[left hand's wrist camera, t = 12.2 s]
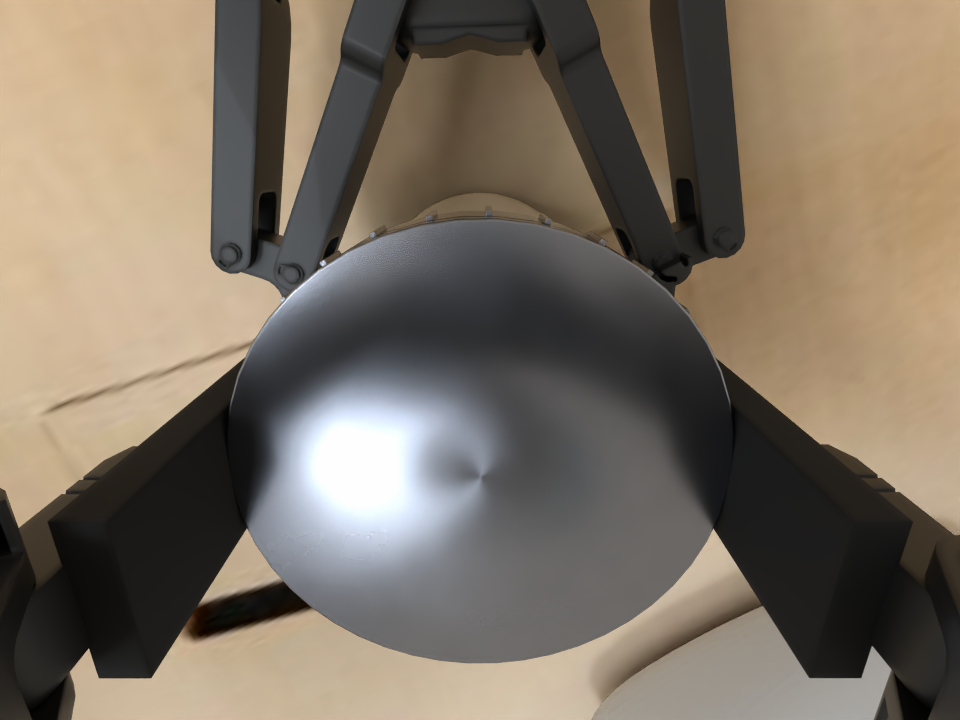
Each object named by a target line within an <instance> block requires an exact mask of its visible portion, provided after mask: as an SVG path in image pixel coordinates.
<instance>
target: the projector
mask: <svg viewBox="0 0 960 720" xmlns="http://www.w3.org/2000/svg"><path fill="white" fill-rule="evenodd" d="M890 672H891V668H890V667H889V666H888V665H887V663H886V662H885V661H884V660H883V659H882V657H881V656H880V655H879V654H878V652H877V651H876V650H875V649H874V647H873V646H872V648H871V651H870V654H869V657H868V660H867V663H866V666H865V669H864V672H863V675H862V678H809V677H808V676H807V674H806V672H805V671H804V669H803V668H802V666H801V665H800V663H799V661H798V660H797V658H796V657H795V655H794V654H793V652H792V650H791V649H790V647H789V646H788V644H787V643H786V641H785V640H784V638H783V636H782V635H781V633H780V632H779V630H778V629H777V627H776V625H775V624H774V622H773V621H772V619H771V618H770V616H769V614H768V613H767V611H766V610H765V608H764V607H763V606H761V607H759V608H757V609H754V610H752V611H750V612H748V613H746V614H744V615H742V616H739V617H737V618H735V619H733V620H731V621H729V622H727V623H725V624H722V625H721V626H719V627H717V628H715V629H713V630H711V631H709V632H707V633H705V634H703V635H701V636H699V637H697V638H695V639H693V640H692V641H690V642H688V643H686V644H684V645H683V646H681V647H679V648H677V649H675V650H674V651H672V652H670V653H668V654H667V655H665V656H663V657H662V658H660V659H658V660H657V661H655V662H653V663H652V664H650V665H648V666H647V667H645V668H644V669H642V670H641V671H639V672H638V673H636V674H635V675H633V676H632V677H630V678H629V679H628V680H627V681H625V682H624V683H623V684H621V685H620V686H619V687H618V688H616V689H615V690H614V691H613V692H612V693H611V694H610V695H609V696H608V697H607V698H606V699H605V700H604V701H603V703H602V704H601V705H600V706H599V708H598V709H597V711H596V712H595V714H594V716H593V718H592V720H874V717H875V714H876V712H877V709H878V706H879V703H880V700H881V697H882V695H883V692H884V689H885V686H886V683H887V681H888V678H889V675H890Z"/></svg>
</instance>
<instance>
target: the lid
mask: <svg viewBox="0 0 960 720" xmlns="http://www.w3.org/2000/svg"><path fill="white" fill-rule="evenodd" d="M369 235H370V237H368V238H366V239H365V240H363V241H361V242H360V243H358V244H357V245H355V246H353V247H352V248H350V249H349V250H347V251H345V252H344V253H342V254H341V252H340V251H337V252H335V253H334V254H332V255H330V256H329V257H327V258H326V259H324V260H322V261H321V262H320V264H321V266H322V267H321V268H319V269H318V270H317V271H315V272H314V273H313V274H312V275H311V276H310V277H308V278H307V279H306V280H305V281H304V282H302V283H301V284H300V285H299V286H298V287H296V288H295V289H294V290H292V291H291V292H289V293H288V294H286V295H285V296H283V297H282V298H281V300H280V301H281V302H282V303H281V304H280V305H279V306H278V308H277V309H276V310H275V311H274V312H273V313H272V314H271V316H270V317H269V318H268V319H267V321H266V322H265V324H264V326H263V327H262V329H261V330H260V332H259V333H258V335H257V337H256V338H255V339H254V340H253V342H252V344H251V346H250V348H249V351H248V353H247V355H246V357H245V360H244V362H243V364H242V366H241V369H240V371H239V373H238V376H237V380H236V384H235V387H234V391H233V395H232V398H231V402H230V408H229V417H228V426H227V455H228V463H229V469H230V474H231V479H232V485H233V490H234V495H235V499H236V501H237V504H238V507H239V510H240V513H241V516H242V519H243V521H244V523H245V525H246V527H247V529H248V531H249V533H250V535H251V536H252V538H253V540H254V542H255V544H256V546H257V547H258V549H259V550H260V552H261V553H262V554H263V556H264V557H265V559H266V560H267V562H268V563H269V565H270V566H271V568H272V569H273V570H274V571H275V572H276V573H277V574H278V575H279V576H280V578H281V579H282V580H283V581H284V582H285V583H286V584H287V585H288V587H289V588H290V589H291V590H293V591H294V592H295V593H296V594H297V595H298V596H299V597H300V598H302V599H303V600H304V601H305V602H306V603H307V604H308V605H310V606H311V607H312V608H313V609H315V610H316V611H318V612H319V613H321V614H322V615H323V616H325V617H326V618H328V619H329V620H331V621H332V622H334V623H335V624H337V625H339V626H341V627H343V628H344V629H346V630H348V631H350V632H352V633H354V634H355V635H357V636H359V637H362V638H364V639H366V640H369V641H371V642H374V643H376V644H378V645H381V646H383V647H386V648H389V649H393V650H396V651H399V652H403V653H406V654H409V655H413V656H418V657H423V658H429V659H434V660H439V661H449V662H460V663H502V662H511V661H521V660H527V659H532V658H537V657H542V656H547V655H552V654H555V653H558V652H561V651H565V650H568V649H571V648H574V647H577V646H580V645H582V644H585V643H587V642H589V641H592V640H594V639H596V638H599V637H601V636H603V635H606V634H607V633H609V632H611V631H613V630H614V629H616V628H618V627H620V626H622V625H623V624H625V623H627V622H629V621H630V620H632V619H633V618H634V617H636V616H637V615H639V614H640V613H641V612H643V611H644V610H646V609H647V608H648V607H650V606H651V605H652V604H654V603H655V602H656V601H657V600H658V599H659V598H660V597H661V596H662V595H663V594H665V593H666V592H667V591H668V590H669V589H670V588H671V587H672V586H673V585H674V584H675V583H676V582H677V581H678V579H679V578H680V577H681V576H682V575H683V574H684V573H685V571H686V570H687V569H688V568H689V567H690V566H691V564H692V563H693V561H694V560H695V558H696V557H697V555H698V554H699V552H700V551H701V549H702V548H703V546H704V545H705V543H706V542H707V540H708V538H709V536H710V534H711V532H712V530H713V528H714V526H715V524H716V522H717V520H718V518H719V515H720V512H721V509H722V506H723V503H724V500H725V497H726V492H727V487H728V482H729V476H730V471H731V465H732V460H733V446H734V428H733V420H732V412H731V405H730V399H729V395H728V392H727V388H726V385H725V382H724V378H723V375H722V371H721V369H720V367H719V365H718V362H717V360H716V358H715V356H714V354H713V352H712V350H711V347H710V345H709V343H708V341H707V340H706V338H705V337H704V335H703V334H702V332H701V331H700V329H699V328H698V326H697V325H696V323H695V322H694V320H693V319H692V317H691V316H690V312H689V310H688V309H687V308H686V307H684V306H683V305H681V304H680V303H679V302H678V301H677V300H676V299H675V298H674V297H673V296H672V295H671V294H670V292H669V291H668V290H667V289H666V288H665V287H663V286H662V285H661V284H660V283H658V282H657V281H656V280H655V279H653V278H652V277H651V276H652V275H653V274H654V273H653V272H652V271H651V270H650V269H648V268H647V267H645V266H643V265H642V264H640V263H639V262H637V261H635V260H633V261H632V262H631V261H630V260H628V259H626V258H625V257H623V256H622V255H620V254H619V253H617V252H616V251H614V250H612V249H611V248H609V247H607V246H606V245H605V244H606V243H607V241H606V240H604V239H603V238H601V237H599V236H598V235H596V234H594V233H592V232H589V234H588V235H586V234H584V233H581V232H579V231H576V230H574V229H572V228H569V227H567V226H565V225H562V224H560V223H556V222H552V220H551V219H550V218H549V217H548V216H546V215H545V214H542V213H540V214H539V218H537V217H534V216H530V215H524V214H516V213H508V212H500V211H492V208H491V206H485V211H459V212H452V213H445V214H438V215H437V210H432V211H431V212H429V213H428V214H427V215H426V217H423V218H419V219H416V220H412V221H409V222H405V223H402V224H398V225H395V226H393V227H391V228H389V229H386V227H385V225H383V226H381V227H379V228H377V229H376V230H374V231H373V232H371V233H370V234H369Z"/></svg>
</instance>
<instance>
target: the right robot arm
mask: <svg viewBox="0 0 960 720" xmlns="http://www.w3.org/2000/svg"><path fill="white" fill-rule="evenodd" d="M650 19H651V31H652V39H653V46H654V54H655V62H656V70H657V77H658V85H659V93H660V101H661V108H662V116H663V124H664V132H665V139H666V147H667V155H668V162H669V170H670V178H671V186H672V193H673V201H674V209H675V217H676V222H674V223H672V224H671V223H670V221H669V218H668V216H667V213H666V211H665V209H664V206H663V204H662V201H661V199H660V196H659V194H658V191H657V189H656V186H655V184H654V181H653V179H652V176H651V174H650V171H649V169H648V166H647V164H646V162H645V159H644V157H643V154H642V152H641V149H640V147H639V144H638V142H637V139H636V137H635V134H634V132H633V129H632V127H631V124H630V122H629V119H628V117H627V115H626V112H625V110H624V107H623V105H622V102H621V100H620V97H619V95H618V92H617V90H616V87H615V85H614V82H613V80H612V77H611V75H610V72H609V70H608V67H607V65H606V63H605V60H604V58H603V55H602V52H601V47H600V37H599V33H598V30H597V27H596V24H595V21H594V19H593V16H592V14H591V11H590V9H589V6H588V4H587V1H586V0H354V3H353V6H352V10H351V13H350V16H349V19H348V22H347V25H346V28H345V31H344V35H343V38H342V43H341V59H340V64H339V67H338V70H337V74H336V77H335V80H334V83H333V86H332V89H331V92H330V95H329V98H328V101H327V104H326V107H325V110H324V113H323V116H322V120H321V123H320V126H319V129H318V132H317V135H316V138H315V141H314V144H313V147H312V150H311V153H310V156H309V159H308V162H307V166H306V169H305V172H304V175H303V178H302V181H301V184H300V187H299V190H298V193H297V196H296V199H295V202H294V205H293V208H292V212H291V215H290V218H289V221H288V224H287V227H286V230H285V233H284V236H281V235H279V225H280V208H281V192H282V176H283V160H284V144H285V128H286V112H287V96H288V80H289V64H290V48H291V17H290V6H289V1H288V0H216V3H215V53H214V104H213V154H212V205H211V256H212V259H213V261H214V263H215V264H216V266H218V267H219V268H220V269H221V270H222V271H225V272H227V273H230V274H231V273H240V272H243V273H246V274H249V275H252V276H256V277H259V278H262V279H265V280H267V281H269V282H271V283H272V284H273V285H275V286H276V288H277V289H278V290H279V291H280V293H281V295H282V297H283V296H285V295H286V294H288V293H289V292H291V291H292V290H294V289H295V288H296V287H298V286H299V285H300V284H301V283H302V282H304V281H305V280H306V279H307V278H308V277H310V276H311V275H312V274H313V273H314V272H315V271H317V270H318V269H319V268H321V267H322V266H321V264H320V262H321V261H322V260H324V259H326V258H327V257H329V256H330V255H332V254H334V253H335V252H337V250H338V248H339V245H340V242H341V239H342V237H343V234H344V231H345V228H346V226H347V223H348V220H349V217H350V215H351V212H352V209H353V206H354V204H355V201H356V198H357V195H358V192H359V190H360V187H361V184H362V181H363V179H364V176H365V173H366V170H367V168H368V165H369V162H370V159H371V157H372V154H373V151H374V148H375V146H376V143H377V140H378V137H379V135H380V132H381V129H382V126H383V124H384V121H385V118H386V115H387V113H388V110H389V107H390V104H391V102H392V99H393V96H394V94H395V92H396V90H397V88H398V87H399V85H400V83H401V81H402V79H403V77H404V74H405V71H406V69H407V66H408V63H409V60H410V58H411V55H412V52H413V53H417V54H419V56H420V57H421V58H446V57H449V56H452V55H455V54H458V53H460V52H463V51H466V50H469V49H473V50H477V51H481V52H485V53H489V54H492V55H496V56H504V55H522V53H523V50H526V49H528V48H530V49H531V51H532V53H533V55H534V58H535V60H536V62H537V65H538V67H539V69H540V71H541V73H542V75H543V77H544V79H545V81H546V82H547V83H548V84H549V86H550V88H551V90H552V92H553V94H554V97H555V99H556V101H557V103H558V106H559V108H560V110H561V112H562V115H563V117H564V119H565V122H566V124H567V126H568V128H569V131H570V133H571V135H572V137H573V140H574V142H575V144H576V146H577V149H578V151H579V153H580V156H581V158H582V160H583V162H584V165H585V167H586V169H587V171H588V174H589V176H590V178H591V180H592V183H593V185H594V187H595V190H596V192H597V194H598V196H599V199H600V201H601V203H602V205H603V208H604V210H605V212H606V214H607V217H608V219H609V221H610V223H611V226H612V228H613V230H614V233H615V235H616V237H617V239H618V242H619V244H620V246H621V248H622V251H623V253H624V255H625V257H626V259H628V260H630V261H631V262H632V261H633V260H635V261H637V262H639V263H640V264H642V265H643V266H645V267H647V268H648V269H650V270H651V271H652V272H653V273H654V274H653V275H652V276H651V277H652V278H653V279H655V280H656V281H657V282H658V283H660V284H661V285H662V286H663V287H665V288H666V289H667V290H668V291H669V292H670V294H671V295H672V296H673V297H674V292H675V286H676V285H678V284H680V283H682V282H683V281H684V280H686V279H687V277H688V276H689V274H690V273H691V269H692V266H693V265H695V264H698V263H701V262H703V261H706V260H709V259H711V258H714V257H718V258H727V257H729V256H732V255H734V254H735V253H736V252H737V251H738V250H739V249H740V248H741V246H742V244H743V242H744V237H745V228H744V217H743V205H742V194H741V182H740V171H739V159H738V148H737V136H736V125H735V113H734V102H733V90H732V79H731V67H730V56H729V44H728V33H727V21H726V10H725V0H650Z"/></svg>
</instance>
